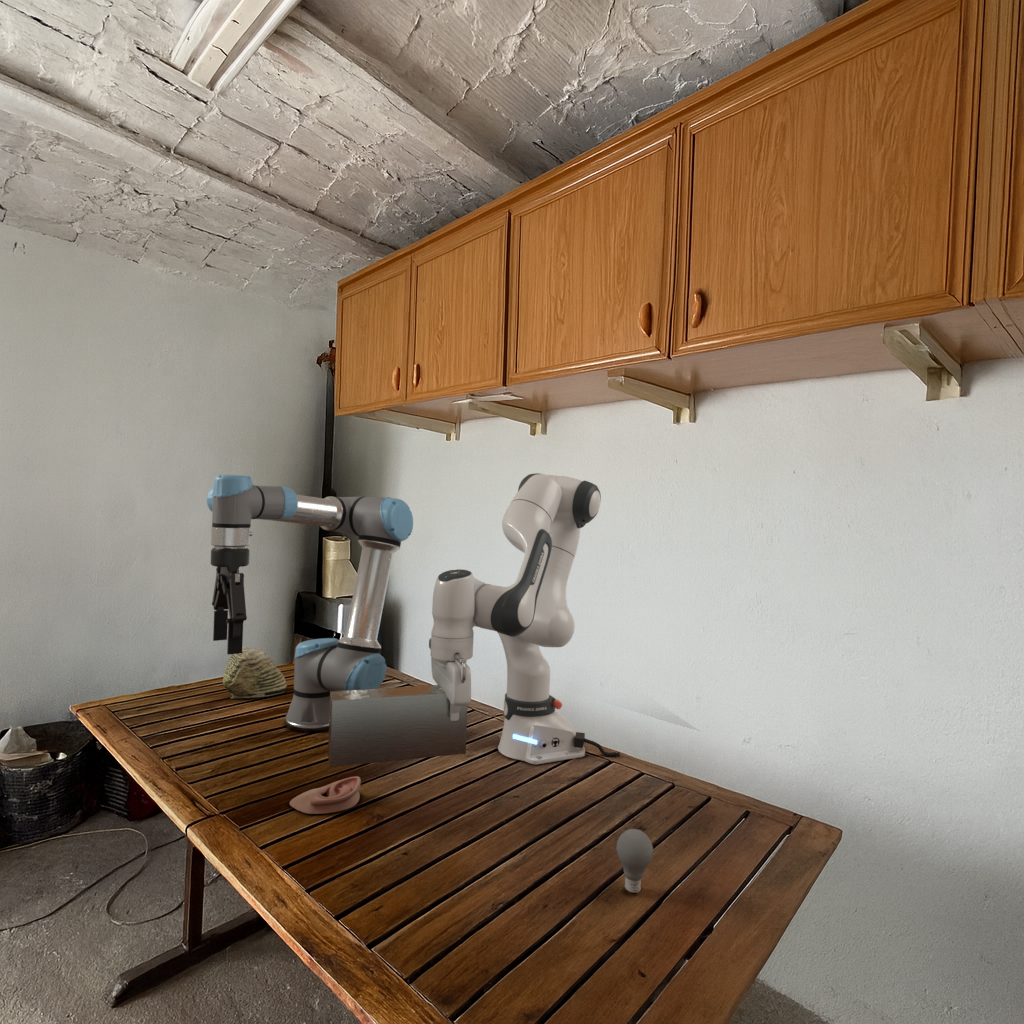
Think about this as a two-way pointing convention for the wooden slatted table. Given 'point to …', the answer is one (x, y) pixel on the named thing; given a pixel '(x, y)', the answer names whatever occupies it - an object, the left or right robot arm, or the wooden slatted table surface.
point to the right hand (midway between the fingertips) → (449, 713)
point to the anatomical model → (329, 797)
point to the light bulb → (634, 857)
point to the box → (393, 725)
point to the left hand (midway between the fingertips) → (227, 646)
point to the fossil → (252, 675)
